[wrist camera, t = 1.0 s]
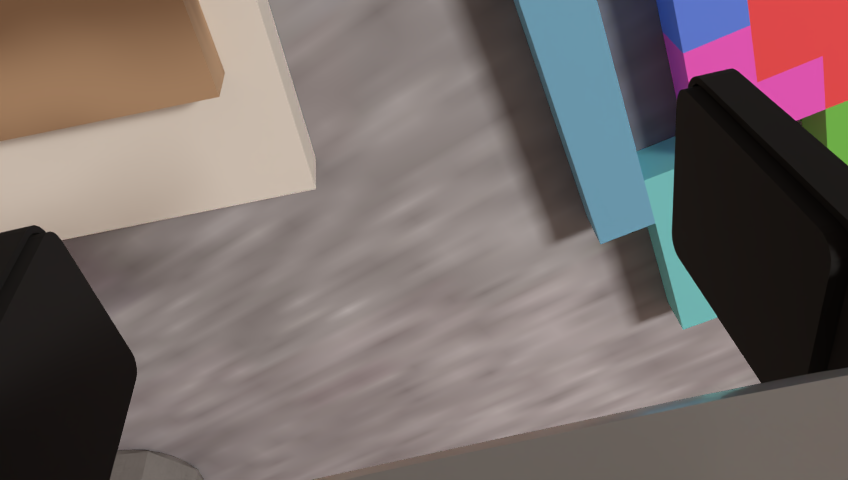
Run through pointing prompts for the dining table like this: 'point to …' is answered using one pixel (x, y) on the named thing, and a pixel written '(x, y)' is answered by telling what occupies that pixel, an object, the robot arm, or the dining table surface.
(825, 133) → the tetris game
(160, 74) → the tile
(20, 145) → the board
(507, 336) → the dining table surface
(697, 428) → the robot arm
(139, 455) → the coffeepot
